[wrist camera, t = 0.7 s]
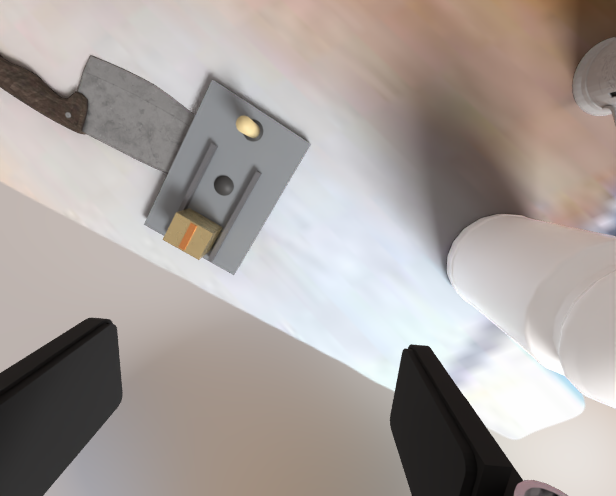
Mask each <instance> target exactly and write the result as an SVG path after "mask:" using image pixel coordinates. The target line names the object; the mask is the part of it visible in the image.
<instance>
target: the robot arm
mask: <svg viewBox="0 0 616 496" xmlns="http://www.w3.org/2000/svg"><path fill="white" fill-rule="evenodd" d="M121 400H122V382H121V371H120V359H119V347H118V336H117V327H116V326H115V325H114V324H113V323H112V321H111V320H109V319H101V318H88V319H86V320H84V321H82V322H81V323H79V324H78V325H76V326H75V327H73V328H71V329H70V330H68V331H67V332H65V333H63V334H62V335H60V336H59V337H57V338H55V339H54V340H52V341H51V342H49V343H47V344H46V345H44V346H43V347H41V348H40V349H38V350H36V351H35V352H33V353H32V354H30V355H28V356H27V357H26V358H24V359H22V360H20V361H19V362H17V363H16V364H14V365H12V366H11V367H9V368H8V369H6V370H4V371H3V372H1V373H0V496H43V495H44V494H45V493H46V491H47V490H48V489H49V488H50V487H51V485H52V484H53V483H54V482H55V481H56V480H57V478H58V477H59V476H60V475H61V474H62V473H63V471H64V470H65V469H66V468H67V466H68V465H69V464H70V463H71V462H72V461H73V459H74V458H75V457H76V456H77V455H78V453H79V452H80V451H81V450H82V449H83V448H84V446H85V445H86V444H87V443H88V442H89V440H90V439H91V438H92V437H93V436H94V435H95V434H96V432H97V431H98V430H99V429H100V428H101V426H102V425H103V424H104V423H105V422H106V420H107V419H108V418H109V417H110V416H111V415H112V413H113V412H114V411H115V410H116V409H117V407H118V406H119V404H120V402H121ZM390 426H391V430H392V433H393V437H394V440H395V443H396V446H397V449H398V453H399V456H400V459H401V462H402V465H403V468H404V472H405V475H406V478H407V481H408V484H409V487H410V491H411V494H412V496H568V495H567V494H565V493H563V492H562V491H560V490H559V489H556V488H555V487H552V486H550V485H548V484H546V483H542V482H539V481H535V480H524V481H523V480H522V478H521V477H520V475H519V474H518V472H517V471H516V470H515V468H514V467H513V465H512V464H511V462H510V461H509V460H508V458H507V457H506V455H505V454H504V452H503V451H502V450H501V448H500V447H499V445H498V444H497V442H496V441H495V439H494V438H493V437H492V435H491V434H490V432H489V431H488V429H487V428H486V427H485V425H484V424H483V422H482V421H481V419H480V418H479V416H478V415H477V414H476V412H475V411H474V409H473V408H472V406H471V405H470V404H469V402H468V401H467V399H466V398H465V397H464V396H463V394H462V393H461V391H460V390H459V388H458V387H457V386H456V384H455V383H454V381H453V380H452V378H451V377H450V375H449V374H448V373H447V371H446V370H445V368H444V367H443V365H442V364H441V362H440V361H439V360H438V358H437V357H436V355H435V354H434V352H433V351H432V350H431V348H430V347H429V346H422V345H409V347H408V349H404V350H403V352H402V357H401V362H400V367H399V373H398V378H397V383H396V389H395V394H394V399H393V404H392V410H391V416H390Z"/></svg>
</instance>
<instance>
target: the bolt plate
mask: <svg viewBox="0 0 616 496" xmlns="http://www.w3.org/2000/svg"><path fill="white" fill-rule="evenodd" d="M310 145H311V144H310V143H309V142H307V141H306V140H304V139H303V138H301V137H300V136H298V135H297V134H295V133H294V132H292V131H290V130H289V129H287V128H286V127H284V126H283V125H281V124H280V123H278V122H277V121H275V120H274V119H272V118H271V117H269V116H268V115H266V114H265V113H263V112H262V111H260V110H259V109H257V108H255V107H254V106H252V105H251V104H249V103H248V102H246V101H245V100H243V99H242V98H240V97H239V96H237V95H236V94H234V93H233V92H231V91H230V90H228V89H227V88H225V87H224V86H222V85H220V84H219V83H217V82H216V81H214V80H213V79H212V81H211V83H210V86H209V88H208V90H207V92H206V94H205V96H204V98H203V100H202V102H201V105H200V107H199V109H198V111H197V113H196V115H195V117H194V119H193V122H192V124H191V126H190V128H189V130H188V132H187V134H186V136H185V139H184V141H183V143H182V145H181V147H180V149H179V151H178V153H177V156H176V158H175V160H174V162H173V164H172V166H171V168H170V170H169V173H168V175H167V177H166V179H165V181H164V183H163V185H162V187H161V189H160V192H159V194H158V196H157V198H156V200H155V202H154V204H153V206H152V209H151V211H150V213H149V215H148V217H147V219H146V221H145V223H144V225H146V226H148V227H149V228H151V229H153V230H155V231H156V232H158V233H160V234H162V235H163V236H165V234H166V232H167V230H168V228H169V226H170V224H171V222H172V220H173V218H174V216H175V214H176V212H179V211H182V210H185V209H189V208H190V209H192V210H194V211H196V212H197V213H199V214H201V215H202V216H204V217H206V218H208V219H209V220H211V221H213V222H214V223H216V224H218V225H220V226H221V227H223V228H222V230H221V232H220V233H219V235H218V237H217V239H216V241H215V243H214V244H213V246H212V248H211V250H210V251H209V252H208V253H207V254H206V255H204V256H203V258H204V259H206V260H208V261H210V262H211V263H213V264H215V265H217V266H218V267H220V268H222V269H224V270H226V271H227V272H229V273H231V274H233V275H234V274H235V273H236V271H237V270H238V268H239V266H240V264H241V263H242V261H243V259H244V258H245V256H246V254H247V252H248V251H249V249H250V247H251V246H252V244H253V242H254V241H255V239H256V237H257V235H258V234H259V232H260V230H261V229H262V227H263V225H264V223H265V222H266V220H267V218H268V217H269V215H270V213H271V212H272V210H273V208H274V206H275V205H276V203H277V201H278V200H279V198H280V196H281V194H282V193H283V191H284V189H285V188H286V186H287V184H288V182H289V181H290V179H291V177H292V176H293V174H294V172H295V171H296V169H297V167H298V165H299V164H300V162H301V160H302V159H303V157H304V155H305V153H306V152H307V150H308V148H309V147H310Z"/></svg>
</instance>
